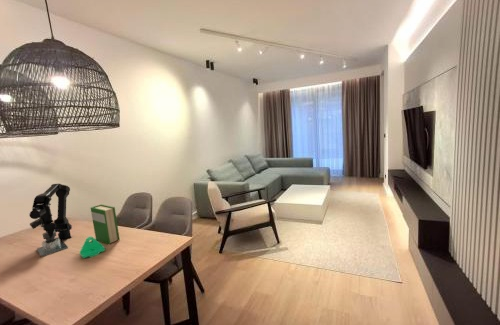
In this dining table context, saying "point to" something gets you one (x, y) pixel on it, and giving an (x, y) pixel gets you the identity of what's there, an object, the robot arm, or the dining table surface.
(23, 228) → the dining table surface
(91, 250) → the camera mount
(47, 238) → the dark grey rounded lump
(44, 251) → the square base plate
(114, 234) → the hardback book
